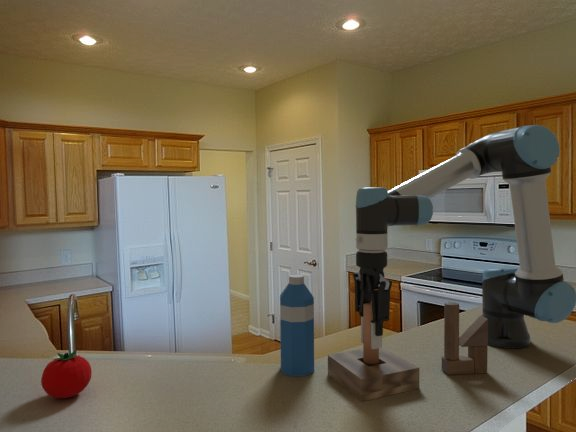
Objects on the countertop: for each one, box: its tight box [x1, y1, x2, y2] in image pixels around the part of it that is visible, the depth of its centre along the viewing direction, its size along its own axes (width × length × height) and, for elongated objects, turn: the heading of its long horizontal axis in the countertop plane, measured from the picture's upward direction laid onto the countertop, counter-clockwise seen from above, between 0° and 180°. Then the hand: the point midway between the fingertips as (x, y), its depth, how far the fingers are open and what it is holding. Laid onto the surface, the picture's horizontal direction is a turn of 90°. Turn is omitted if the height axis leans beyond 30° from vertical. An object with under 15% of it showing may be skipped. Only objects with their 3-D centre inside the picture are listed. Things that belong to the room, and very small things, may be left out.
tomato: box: [40, 350, 93, 399], centre depth 98 cm, size 10×10×10 cm
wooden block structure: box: [441, 301, 489, 376], centre depth 109 cm, size 4×11×18 cm, turn 95°
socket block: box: [327, 346, 420, 402], centre depth 104 cm, size 16×16×5 cm
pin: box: [362, 303, 379, 364], centre depth 103 cm, size 4×4×14 cm
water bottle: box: [279, 274, 315, 377], centre depth 111 cm, size 9×9×25 cm
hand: (371, 344), depth 104 cm, fingers closed on pin, 4 cm apart
